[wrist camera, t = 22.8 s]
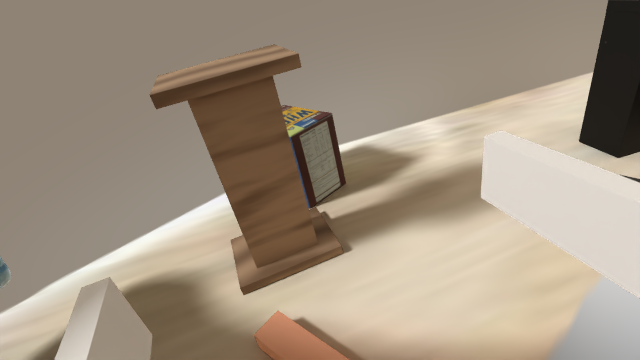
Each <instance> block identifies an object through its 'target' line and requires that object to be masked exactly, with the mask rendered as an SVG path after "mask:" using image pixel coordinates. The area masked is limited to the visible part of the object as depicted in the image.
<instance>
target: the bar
mask: <svg viewBox="0 0 640 360" xmlns="http://www.w3.org/2000/svg"><path fill="white" fill-rule="evenodd" d="M254 337H255V339H256V341H257V343H258V345H259V347H260V349H262V350H263V351H264V352H265V353H266V354H268V355H269V356H270V357H271V358H272V359H274V360H349V359H348V358H346V357H345V356H343V355H342V354H341V353H339V352H338V351H336V350H335V349H333V348H332V347H330V346H329V345H327V344H326V343H325V342H323V341H322V340H320V339H319V338H317V337H316V336H314V335H313V334H311V333H310V332H309V331H307V330H306V329H304V328H303V327H301V326H300V325H298V324H297V323H295V322H294V321H292V320H291V319H290V318H288V317H287V316H285V315H284V314H282V313H281V312H279V311H277V312H276V313H275V314H274V315H273V316H272V317H271V318H270V319H269V320H268V321H267V322H266V323H265V324H264V325H263V326H262V327H261V328H260V329H259V330H258V331H257V332H256V333H255V334H254Z"/></svg>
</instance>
